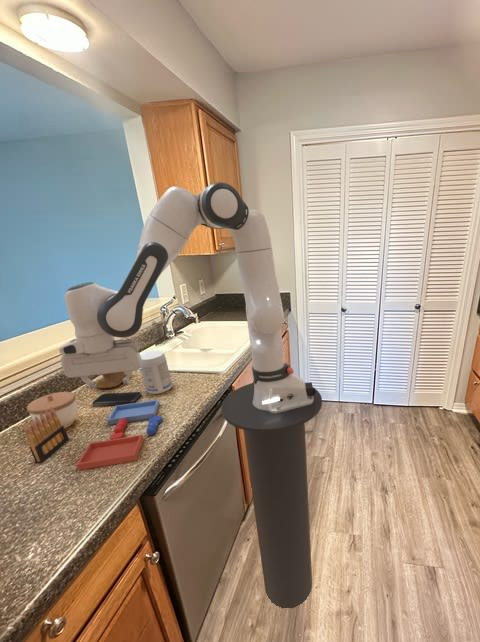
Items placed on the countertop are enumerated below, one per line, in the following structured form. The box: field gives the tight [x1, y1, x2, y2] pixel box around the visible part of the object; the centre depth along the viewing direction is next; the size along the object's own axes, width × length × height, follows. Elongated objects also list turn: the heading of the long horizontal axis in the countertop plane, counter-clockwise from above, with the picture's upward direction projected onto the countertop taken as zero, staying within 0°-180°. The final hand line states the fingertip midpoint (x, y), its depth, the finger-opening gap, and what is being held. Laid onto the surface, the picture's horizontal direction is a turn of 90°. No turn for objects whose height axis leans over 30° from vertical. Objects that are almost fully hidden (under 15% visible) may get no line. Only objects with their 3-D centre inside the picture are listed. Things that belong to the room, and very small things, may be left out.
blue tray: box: [106, 399, 161, 426], centre depth 110 cm, size 14×10×2 cm
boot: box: [96, 372, 127, 389], centre depth 133 cm, size 15×12×15 cm
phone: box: [92, 391, 142, 407], centre depth 120 cm, size 8×1×15 cm
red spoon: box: [109, 418, 128, 440], centre depth 100 cm, size 4×10×3 cm, turn 13°
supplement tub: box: [139, 350, 173, 395], centre depth 125 cm, size 10×10×15 cm
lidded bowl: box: [26, 391, 79, 429], centre depth 104 cm, size 13×13×11 cm
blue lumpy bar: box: [145, 415, 163, 436], centre depth 102 cm, size 4×10×3 cm, turn 13°
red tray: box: [75, 434, 144, 471], centre depth 90 cm, size 14×10×2 cm
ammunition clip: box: [23, 407, 70, 463], centre depth 91 cm, size 11×2×12 cm, turn 177°
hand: (110, 386), depth 97 cm, fingers open, 8 cm apart
